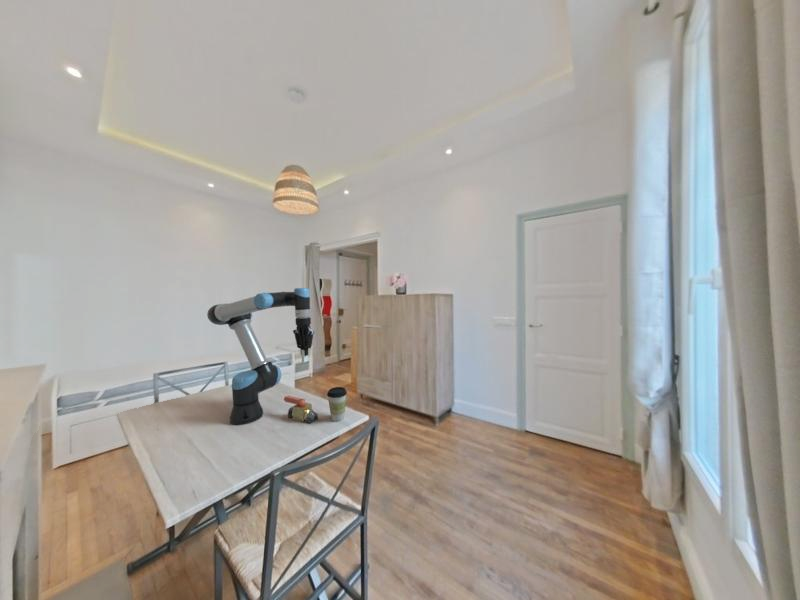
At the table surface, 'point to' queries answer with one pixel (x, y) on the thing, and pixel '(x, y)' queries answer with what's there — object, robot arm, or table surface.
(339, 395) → the coffee cup
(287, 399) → the lever
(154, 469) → the table surface
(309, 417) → the pipe run
